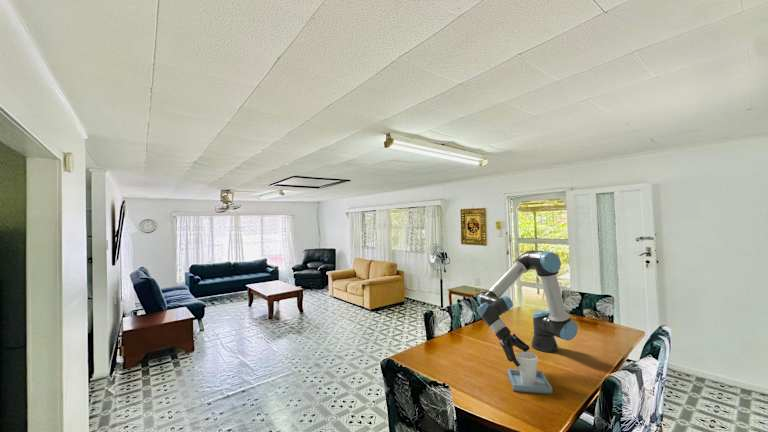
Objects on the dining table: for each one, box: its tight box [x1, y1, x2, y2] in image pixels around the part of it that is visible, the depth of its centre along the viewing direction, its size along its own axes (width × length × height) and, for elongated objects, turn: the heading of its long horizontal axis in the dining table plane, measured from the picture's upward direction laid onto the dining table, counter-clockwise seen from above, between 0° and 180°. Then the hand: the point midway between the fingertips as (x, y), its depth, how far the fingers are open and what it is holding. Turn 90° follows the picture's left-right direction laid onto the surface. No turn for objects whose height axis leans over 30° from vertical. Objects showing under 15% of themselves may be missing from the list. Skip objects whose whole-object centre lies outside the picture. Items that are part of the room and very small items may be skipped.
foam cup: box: [516, 351, 539, 385], centre depth 155 cm, size 10×9×13 cm
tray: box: [506, 368, 554, 395], centre depth 155 cm, size 17×17×3 cm
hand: (530, 367), depth 154 cm, fingers open, 13 cm apart
